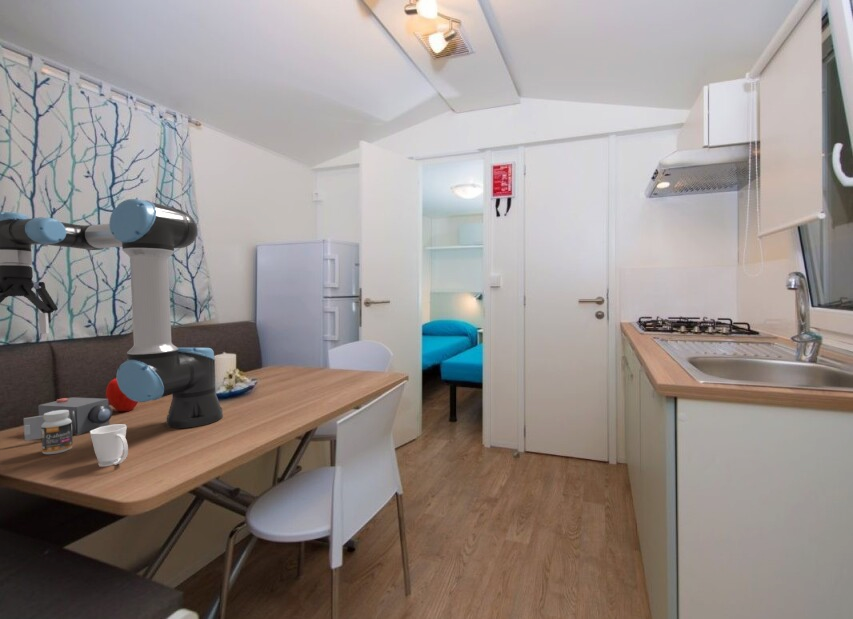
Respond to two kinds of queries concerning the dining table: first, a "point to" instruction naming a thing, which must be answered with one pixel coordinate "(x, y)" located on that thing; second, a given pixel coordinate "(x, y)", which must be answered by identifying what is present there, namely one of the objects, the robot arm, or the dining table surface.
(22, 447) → the dining table surface
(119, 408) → the apple
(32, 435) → the side door
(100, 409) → the camera body
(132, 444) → the dining table surface
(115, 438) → the cup
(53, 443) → the pill bottle
